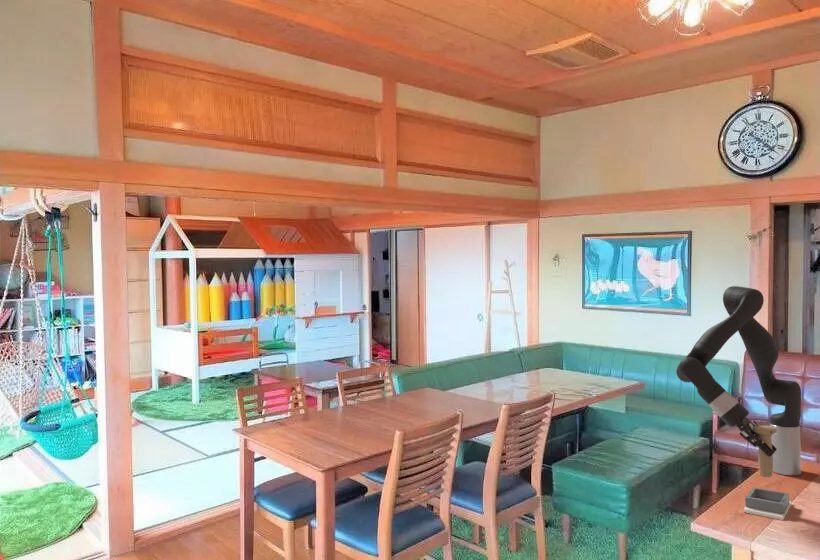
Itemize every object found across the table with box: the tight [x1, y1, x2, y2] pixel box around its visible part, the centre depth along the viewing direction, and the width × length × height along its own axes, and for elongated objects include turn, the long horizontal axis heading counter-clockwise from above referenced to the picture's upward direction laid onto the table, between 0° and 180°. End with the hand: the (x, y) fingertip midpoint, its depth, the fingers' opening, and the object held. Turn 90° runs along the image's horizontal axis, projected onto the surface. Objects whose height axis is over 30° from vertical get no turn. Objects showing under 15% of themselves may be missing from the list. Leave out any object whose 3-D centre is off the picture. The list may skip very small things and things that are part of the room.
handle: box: [754, 425, 777, 478], centre depth 187 cm, size 5×6×15 cm
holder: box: [743, 486, 792, 521], centre depth 187 cm, size 15×10×4 cm
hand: (773, 453), depth 185 cm, fingers closed on handle, 3 cm apart
